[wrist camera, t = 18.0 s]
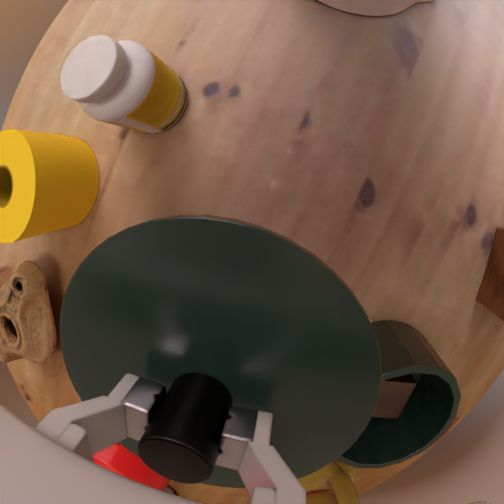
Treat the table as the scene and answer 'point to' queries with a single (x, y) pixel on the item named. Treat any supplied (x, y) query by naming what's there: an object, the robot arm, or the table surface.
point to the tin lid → (222, 342)
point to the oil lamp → (26, 316)
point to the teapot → (129, 466)
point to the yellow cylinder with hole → (44, 183)
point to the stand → (494, 278)
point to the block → (394, 396)
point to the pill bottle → (123, 84)
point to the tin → (417, 407)
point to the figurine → (331, 485)
